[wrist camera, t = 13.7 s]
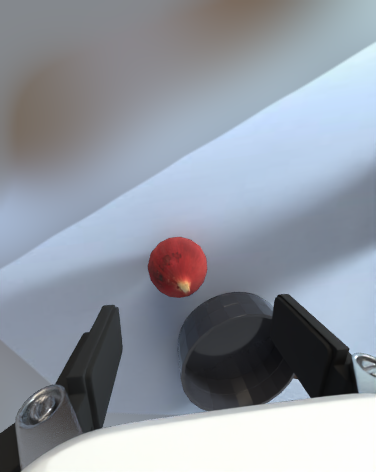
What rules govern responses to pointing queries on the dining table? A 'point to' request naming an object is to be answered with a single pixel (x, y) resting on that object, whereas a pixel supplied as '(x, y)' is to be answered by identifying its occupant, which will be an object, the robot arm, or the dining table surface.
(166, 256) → the onion
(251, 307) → the pan
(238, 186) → the dining table surface
